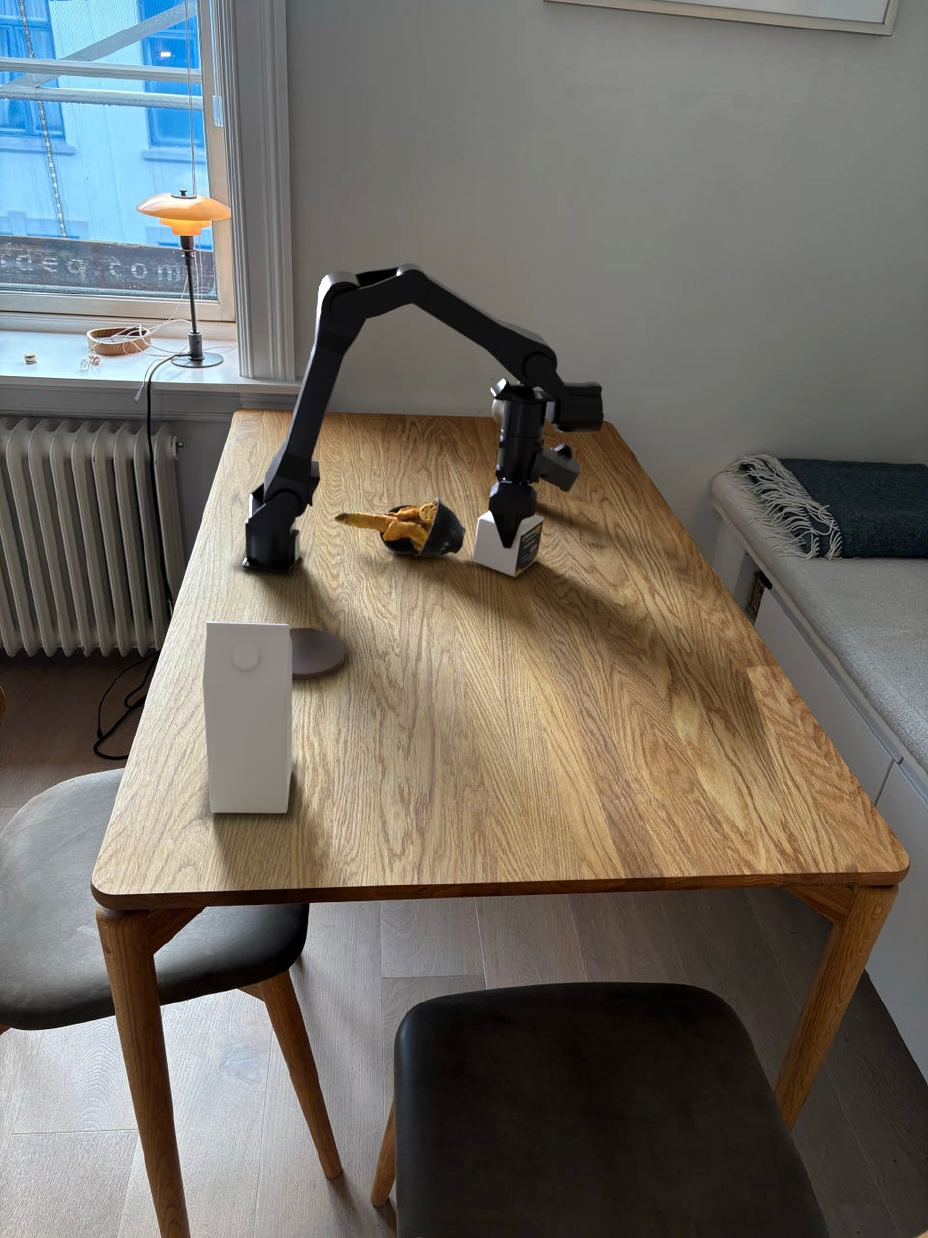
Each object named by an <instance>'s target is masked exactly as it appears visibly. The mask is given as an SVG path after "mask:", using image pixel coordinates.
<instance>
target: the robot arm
mask: <svg viewBox="0 0 928 1238" xmlns="http://www.w3.org/2000/svg"><path fill="white" fill-rule="evenodd" d="M411 304H412V305H413V306H415V307H417V308H419V309H420V310H422V311H424V312H425V313H427V314H428V315H429V316H432V317H433V318H435V319H437V320H438V321H439V322H441V323H443V324H444V325H446V326H447V327H449V328H451V329H452V330H453V331H455V332H457V333H459V334H460V335H462V336H463V337H465V338H466V339H468V340H470V341H471V342H473V343H475V344H476V345H478V346H479V347H481V348H483V349H484V350H485V351H487V352H488V353H489V354H490V355H491V356H492V357H493V358H494V359H495V360H496V361H497V362H498V363H499V364H500V365H501V366H502V367H503V368H504V369H505V370H506V371H507V372H508V373H510V375H511V376H512V377H514V378H515V379H516V380H517V381H518V382H520V383H522V384H518V383H510V381H509V380H508V378H507V377H502V379H501V380H500V381H499V382H498V383H496V384H494V385H493V386H491V387H490V389H489V390H490V393H491V394H492V396H493V398H494V400H495V399H496V400H502V401H504V410H503V418H502V425H501V427H500V436H499V442H498V454H497V459H496V468H495V475H494V476H495V477H496V481H497V480H498V483H497V482H496V483H497V484H496V483H495V484H494V485H492V486H491V488H490V493H489V498H488V499H489V500H488V507H487V508H488V509H487V510H488V511H490V513H491V514H492V516H493V519H494V522H495V525H496V528H497V530H498V533H499V536H500V539H501V542H502V545H503V548H508V549H510V548H511V547H512V544H513V542H514V539H515V536H516V534H517V531H518V529H519V526H520V524H521V521H522V520H524V519H526V518H530V517H532V516H534V515H535V514H536V509H537V500H538V491H537V490H536V488H535V487H534V486H533V485H532V484H533V483H534V484H539V483H540V479H542V480H543V481H545V482H547V483H549V484H551V485H553V486H555V487H557V488H559V490H560V491H562V492H564V493H570V491H571V490H572V488H573V486H574V484H575V482H576V480H578V478H579V475H580V474H581V464H580V463H579V462H578V458H573V446H572V445H571V444H568V443H565V442H562V443H561V444H559V445H557V447H553V446H552V447H551V448H550V447H548V446H545V444H544V443H545V437H544V430H545V429H544V428H545V422H547V425H549V426H553V429H554V432H556V433H557V434H558V433H561V434H562V433H563V434H564V433H566V434H593V435H594V434H595V435H596V434H598V433H599V432H600V431H601V429H602V427H603V424H604V420H605V419H604V417H605V414H604V403H603V397H602V392H603V387H602V385H601V384H600V383H599V382H598V381H587V382H586V381H585V382H574V381H573V382H572V381H569V382H568V381H564V380H563V378H562V377H561V376H560V375H559V374H558V372H557V369H558V363H559V362H558V359H557V358H558V357H557V354H556V352H555V351H554V349H553V348H552V347H551V346H550V345H549V344H548V342H546V340H545V339H544V338H543V337H542V336H541V335H540V334H538V333H536V332H534V331H532V330H530V329H527V328H524V327H522V326H519V325H517V324H513V323H510V322H506V321H503V320H501V319H499V318H496V317H494V316H493V315H492V314H490V313H489V312H487V311H485V310H484V309H482V308H481V307H479V306H477V305H476V304H474V303H473V302H471V301H470V300H468V299H467V298H465V297H464V296H463V295H461V294H459V293H457V292H456V291H454V290H453V289H451V288H449V287H448V286H446V285H445V284H443V283H442V282H440V281H439V280H437V279H436V278H434V277H433V276H431V275H430V274H429V273H427V272H425V271H424V270H423V268H422V267H421V266H420V265H418V264H415V263H413V262H407V263H404V264H403V263H402V264H401V265H397V266H394V267H388V268H380V269H379V268H378V269H371V270H366V271H360V272H357V273H353V272H351V271H346V270H336V271H334V272H332V273H329V274H328V275H326V276H325V277H324V278H323V279H322V281H321V284H320V286H319V290H318V299H317V308H316V316H315V317H316V318H315V332H314V340H313V341H314V342H313V346H312V348H311V353H310V356H309V359H308V363H307V366H306V368H305V372H304V376H303V379H302V383H301V386H300V388H299V389H300V390H299V393H298V395H297V400H296V402H295V406H294V410H293V413H292V416H291V420H290V423H289V426H288V430H287V432H286V436H285V440H284V442H283V443H282V444H281V446H280V448H278V450H277V451H276V453H275V455H274V457H273V458H272V460H271V462H270V465H269V466H268V467H267V470H266V472H265V474H264V479H263V481H262V482H261V483H260V484H259V485H258V486H257V487H255V489H253V490H252V491H251V492H250V493H249V494H248V509H247V511H248V512H247V515H248V516H247V518H246V520H245V521H244V530H245V531H244V533H245V536H244V537H245V558H244V560H243V562H242V563H241V567H242V568H244V569H249V570H250V569H251V570H258V571H265V572H273V573H281V574H288V573H290V571H291V569H292V568H293V566H294V565H295V564H296V563H297V562H298V559H299V558H300V555H301V552H300V551H301V530H299V529H298V528H297V518H299V517H302V516H303V515H304V513H305V511H306V510H307V508H308V505H309V507H313V506H314V504H313V503H314V502H313V498H314V494H315V492H316V490H317V488H318V487H319V484H320V482H321V470H320V462H319V461H317V460H313V456H314V453H315V449H316V447H317V446H316V445H317V442H318V440H319V436H320V433H321V430H322V426H323V424H324V419H325V417H326V414H327V411H328V408H329V405H330V401H331V398H332V394H333V392H334V388H335V385H336V382H337V379H338V376H339V372H340V369H341V367H342V364H343V363H342V362H343V360H344V357H345V356H346V354H347V353H348V352H349V350H350V348H351V347H352V345H354V343H355V342H356V340H357V338H358V336H359V333H360V332H361V330H362V328H363V326H364V324H365V323H366V321H367V320H368V319H371V318H376V317H380V316H383V315H385V314H388V313H389V312H392V311H394V310H396V309H399V308H401V307H403V306H408V305H411ZM536 388H539V389H540V390H539V389H536ZM546 420H547V421H546ZM502 481H510V482H512V483H505V482H502ZM519 483H521V484H519ZM528 484H529V485H528ZM530 485H531V486H530ZM532 486H533V487H534V488H535V489H534V488H533V487H532ZM535 490H536V491H537V492H536V491H535Z"/></svg>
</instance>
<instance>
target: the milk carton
mask: <svg viewBox="0 0 928 1238" xmlns="http://www.w3.org/2000/svg"><path fill="white" fill-rule="evenodd" d="M205 622H206V624H205V625H206V637H205V638H206V639H205V650H204V662H203V672H202V690H203V691H202V692H203V707H204V709H203V710H204V724H205V725H204V726H205V727H204V728H205V741H206V758H207V759H206V760H207V776H208V792H209V793H208V794H209V795H208V796H209V810H210V812H211V813H217V814H218V813H221V814H222V813H224V814H226V813H227V814H230V813H231V814H236V813H237V814H286V813H287V812H288V807H289V806H288V804H289V795H290V785H291V777H292V768H293V678H292V640H291V637H290V635H289V629H290V624H289V623H269V622H268V623H265V622H237V621H236V622H235V621H210V620H209V621H205Z"/></svg>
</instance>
